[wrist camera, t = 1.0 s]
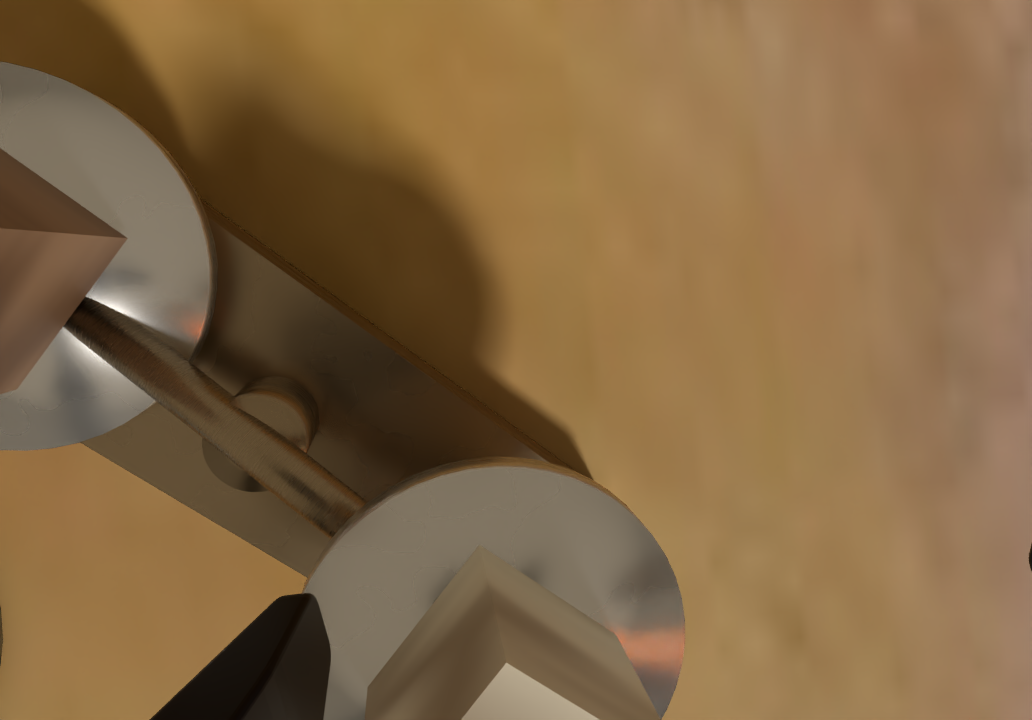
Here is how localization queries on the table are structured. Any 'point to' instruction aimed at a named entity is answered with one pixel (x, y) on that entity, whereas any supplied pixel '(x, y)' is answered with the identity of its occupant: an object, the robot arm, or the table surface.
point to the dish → (1, 636)
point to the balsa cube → (506, 657)
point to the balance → (303, 416)
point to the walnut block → (42, 265)
